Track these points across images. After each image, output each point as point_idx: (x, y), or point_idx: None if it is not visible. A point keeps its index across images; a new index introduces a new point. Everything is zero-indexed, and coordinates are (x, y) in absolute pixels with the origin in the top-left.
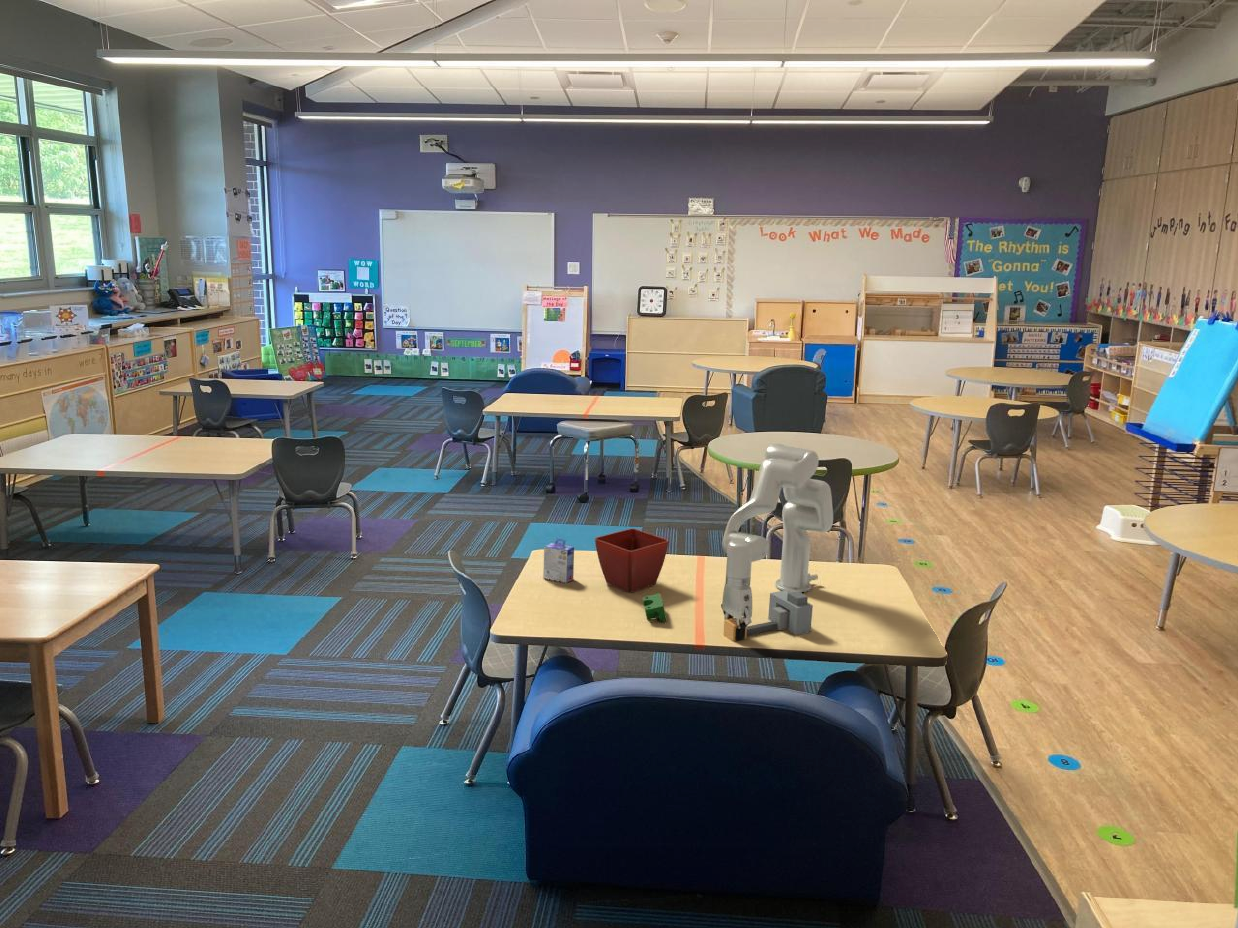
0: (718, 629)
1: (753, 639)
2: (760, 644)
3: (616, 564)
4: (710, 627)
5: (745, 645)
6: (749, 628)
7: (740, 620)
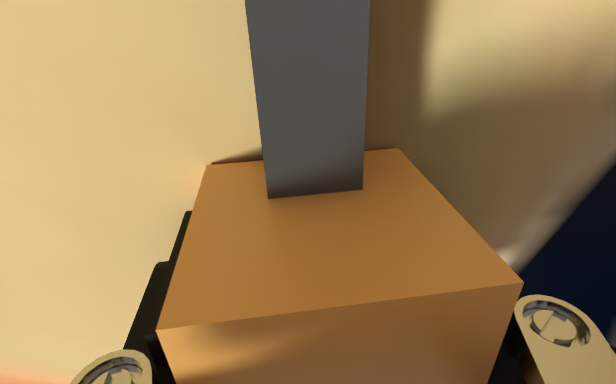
0: (90, 297)
1: (466, 81)
2: (606, 80)
3: None
4: (28, 339)
5: (514, 229)
6: (345, 66)
7: (348, 338)
